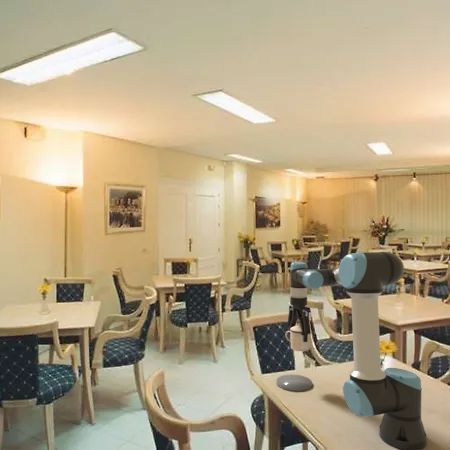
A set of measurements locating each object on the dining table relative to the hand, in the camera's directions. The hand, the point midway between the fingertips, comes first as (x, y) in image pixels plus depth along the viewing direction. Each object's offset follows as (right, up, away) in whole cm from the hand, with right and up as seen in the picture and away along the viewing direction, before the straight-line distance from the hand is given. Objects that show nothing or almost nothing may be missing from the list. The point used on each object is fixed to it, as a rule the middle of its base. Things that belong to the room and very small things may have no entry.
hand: (298, 345), depth 187 cm
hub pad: (-2, -18, +1) cm, 18 cm away
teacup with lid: (0, -2, +1) cm, 2 cm away
